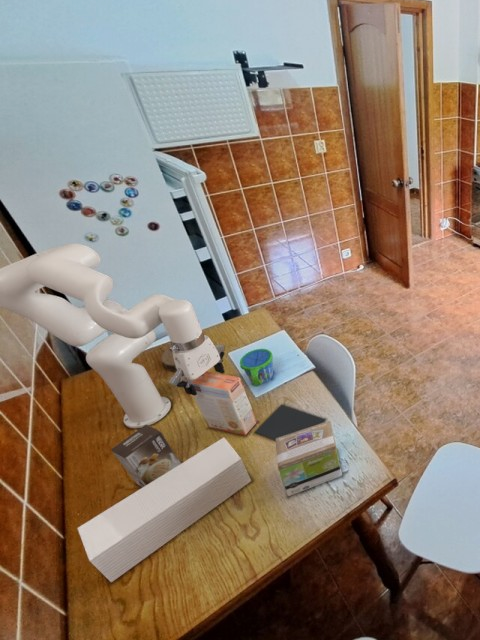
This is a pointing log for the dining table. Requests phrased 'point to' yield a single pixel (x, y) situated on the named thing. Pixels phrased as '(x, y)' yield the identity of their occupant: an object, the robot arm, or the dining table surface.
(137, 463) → the coffee box
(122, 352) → the robot arm
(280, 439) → the tea box
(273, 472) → the dining table surface
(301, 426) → the placemat
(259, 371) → the snack cup
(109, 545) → the white long rectangular block
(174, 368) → the round cork coaster
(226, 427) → the cracker box
